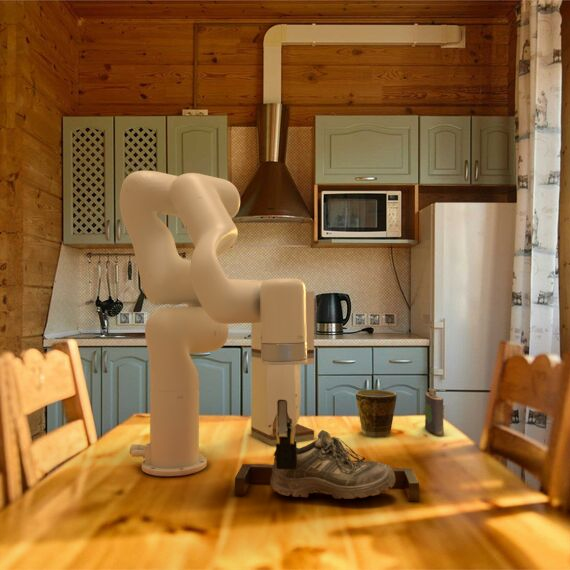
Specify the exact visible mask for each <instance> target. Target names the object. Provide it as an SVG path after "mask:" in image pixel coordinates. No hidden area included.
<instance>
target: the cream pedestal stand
mask: <svg viewBox="0 0 570 570" xmlns="http://www.w3.org/2000/svg"><path fill="white" fill-rule="evenodd" d="M250 325H251V329H250V331H251V336H250V337H251V340H250V341H251V343H250V344H251V345H250V347H251V348H250V349H251V352H250V353H251V356H250V357H251V358H250V360H251V361H250V362H251V365H250V367H251V368H250V369H251V370H250V373H251V375H250V377H251V379H250V386H251V387H250V388H251V389H250V397H251V398H250V402H251V403H250V413H251V414H250V415H251V416H250V418H251V419H250V433H251V434H250V435H251V436H252V437H254V438H256V439H257V440H260V441H262V442H264V443H266V444H268V445H270V446H276V443H277V437H276V420H275V422H274V424H273V425H271V427H270V428H268V427H267V426H266V374H267V364H262V363H261V323H250ZM306 327H307V363H303V364H300V366H302V365H303V366H304V365H314V364H315V291H307V290H306ZM314 439H315V430H314V429H312V428H309V427H308V426H307V427H306V426H304V425H303V424H299V423H297V425H296V426H295V441H294V442H296V443H297V442H304V441H310V440H311V441H312V440H314Z"/></svg>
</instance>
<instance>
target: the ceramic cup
mask: <svg viewBox="0 0 570 570" xmlns="http://www.w3.org/2000/svg"><path fill="white" fill-rule="evenodd" d="M397 395H398V394H397V393H396V392H394V391H391V390H385V389H362V390H357V391H355V400H356V406H357V411H358V416H359V422H360V428H361V432H362V434H363V435H364V436H365V437H372V438H385V437H388V436H390V434H391V432H392V426H393V421H394V414H395V409H396V405H397V398H398V397H397Z"/></svg>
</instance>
